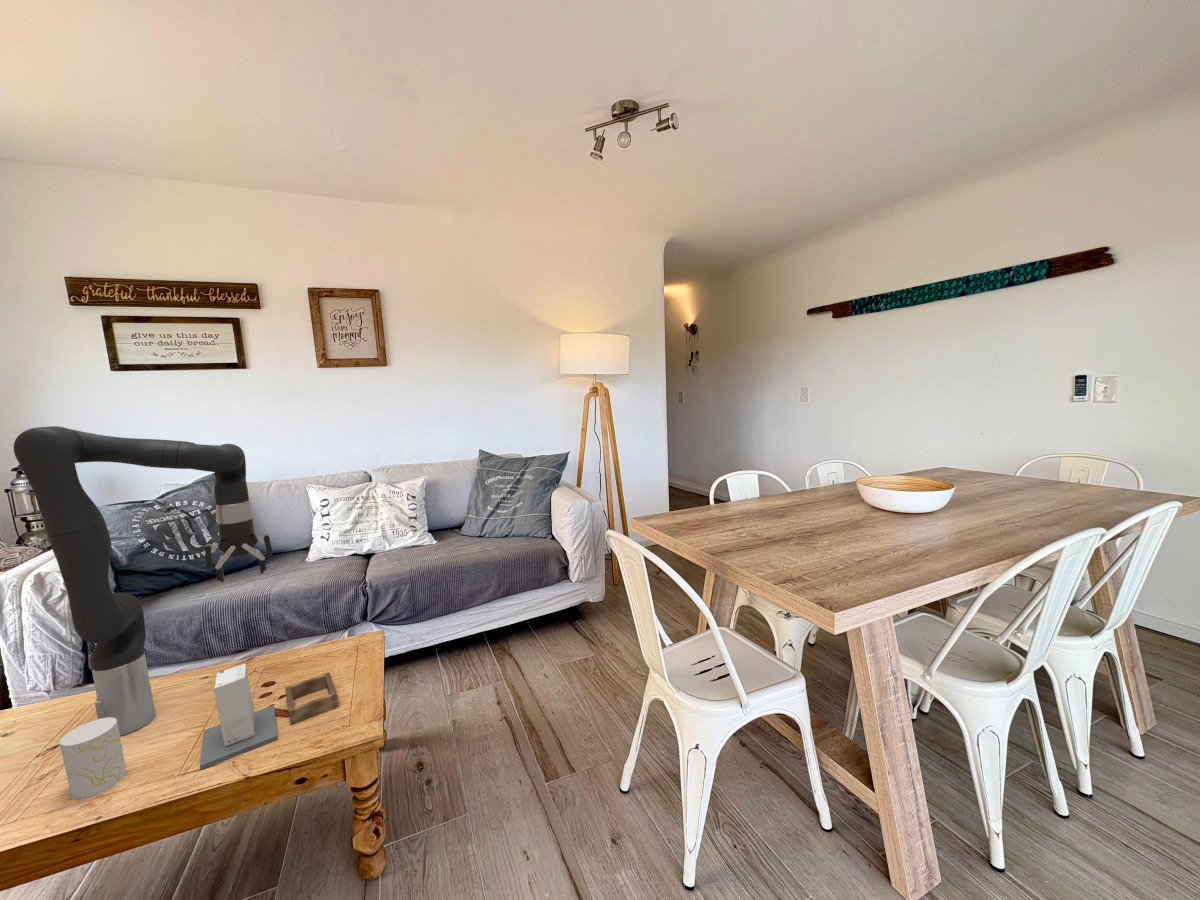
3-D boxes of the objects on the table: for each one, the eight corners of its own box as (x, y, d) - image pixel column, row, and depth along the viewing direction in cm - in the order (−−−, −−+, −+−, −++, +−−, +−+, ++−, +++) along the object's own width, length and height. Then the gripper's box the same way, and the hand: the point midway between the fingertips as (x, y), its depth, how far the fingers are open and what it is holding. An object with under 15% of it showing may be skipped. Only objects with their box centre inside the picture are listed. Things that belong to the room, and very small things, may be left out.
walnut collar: (290, 725, 115) (288, 711, 115) (286, 699, 125) (285, 687, 124) (338, 706, 121) (336, 694, 121) (331, 683, 131) (329, 672, 131)
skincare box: (255, 736, 110) (246, 677, 108) (222, 748, 107) (213, 688, 105) (255, 717, 117) (247, 661, 115) (224, 727, 113) (216, 670, 112)
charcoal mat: (200, 770, 102) (199, 765, 102) (204, 733, 113) (203, 730, 113) (277, 739, 110) (277, 735, 110) (274, 708, 121) (273, 704, 121)
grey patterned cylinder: (86, 802, 95) (76, 748, 93) (60, 794, 97) (49, 741, 95) (135, 770, 103) (126, 720, 101) (110, 764, 105) (101, 714, 103)
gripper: (199, 527, 118) (208, 588, 120) (268, 516, 127) (275, 574, 129) (201, 521, 124) (209, 579, 126) (266, 511, 133) (273, 566, 135)
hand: (242, 576), depth 127 cm, fingers open, 8 cm apart
